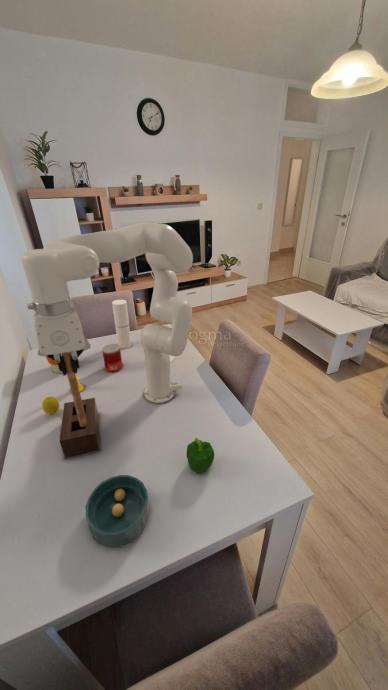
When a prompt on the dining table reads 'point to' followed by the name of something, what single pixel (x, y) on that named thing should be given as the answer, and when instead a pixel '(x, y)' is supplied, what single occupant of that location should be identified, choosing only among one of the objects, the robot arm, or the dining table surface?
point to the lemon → (50, 405)
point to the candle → (79, 384)
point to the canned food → (112, 357)
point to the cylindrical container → (121, 323)
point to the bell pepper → (200, 455)
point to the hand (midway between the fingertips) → (70, 371)
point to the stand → (79, 430)
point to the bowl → (129, 523)
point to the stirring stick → (74, 389)
